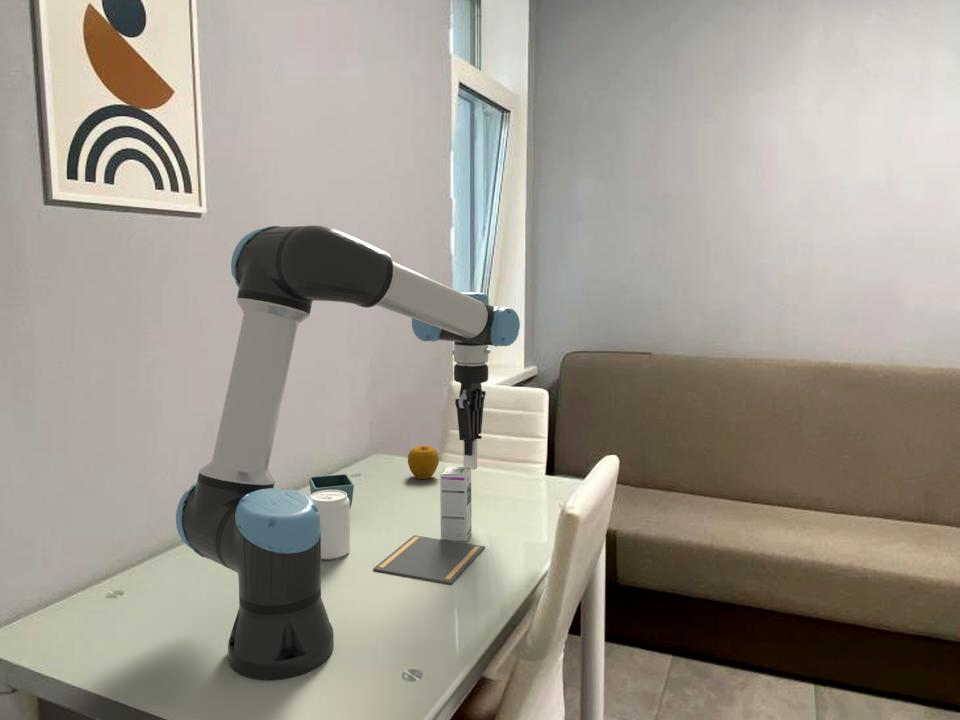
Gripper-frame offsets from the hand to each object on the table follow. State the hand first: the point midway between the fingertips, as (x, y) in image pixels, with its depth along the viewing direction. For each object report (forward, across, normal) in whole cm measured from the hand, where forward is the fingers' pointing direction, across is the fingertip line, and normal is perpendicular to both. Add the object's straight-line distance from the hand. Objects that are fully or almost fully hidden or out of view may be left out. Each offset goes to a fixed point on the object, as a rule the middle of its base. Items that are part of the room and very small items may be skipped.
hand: (470, 468), depth 157 cm
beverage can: (+13, -26, +20) cm, 35 cm away
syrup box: (+13, -8, 0) cm, 15 cm away
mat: (+13, -21, 0) cm, 25 cm away
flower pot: (+13, -9, +30) cm, 34 cm away
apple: (+13, +28, +24) cm, 39 cm away
